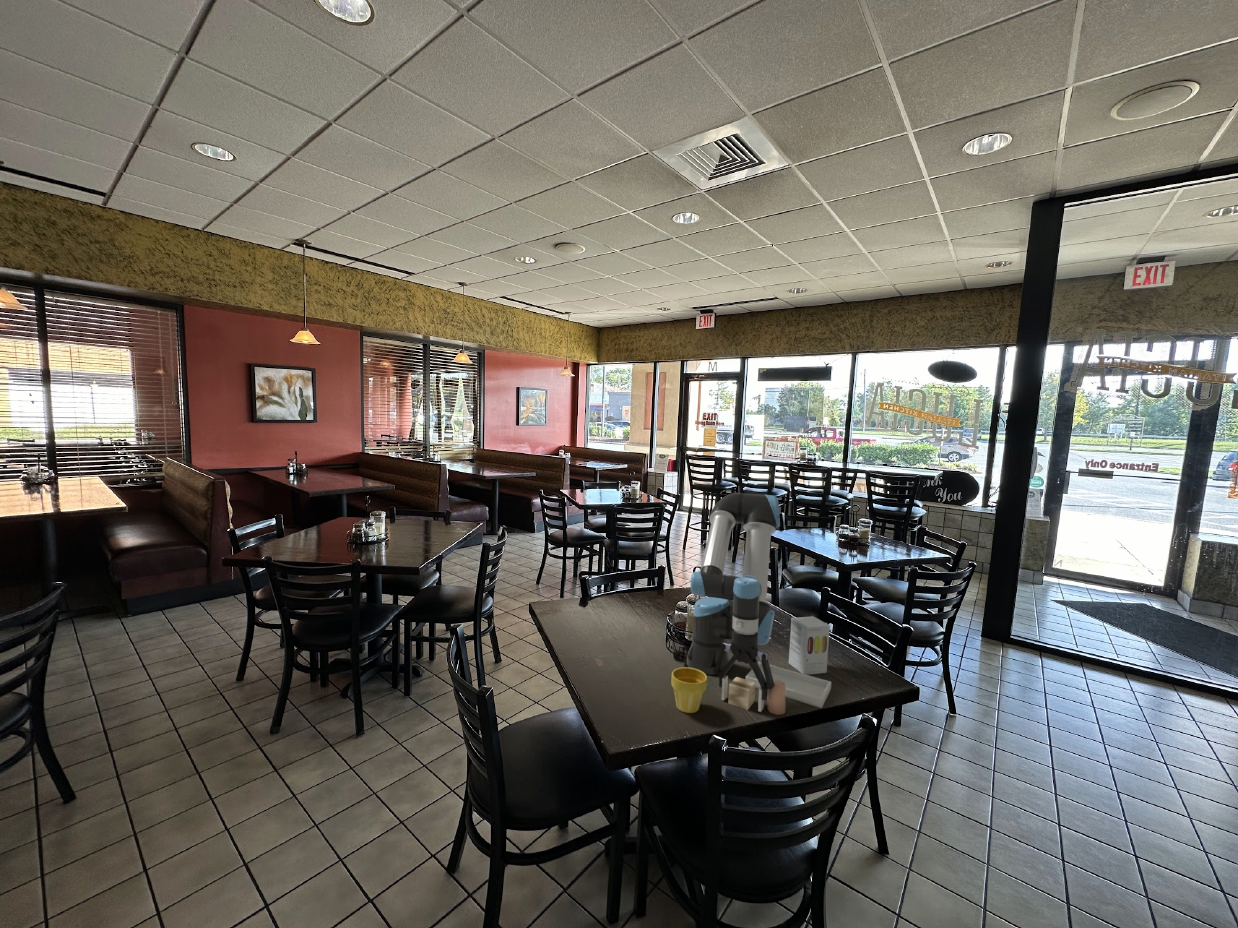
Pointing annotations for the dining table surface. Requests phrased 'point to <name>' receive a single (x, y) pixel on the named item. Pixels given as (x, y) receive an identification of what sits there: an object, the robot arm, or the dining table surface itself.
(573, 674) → the dining table surface
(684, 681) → the plant pot
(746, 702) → the maple cube
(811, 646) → the supplement box
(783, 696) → the terracotta cylinder
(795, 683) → the tray
